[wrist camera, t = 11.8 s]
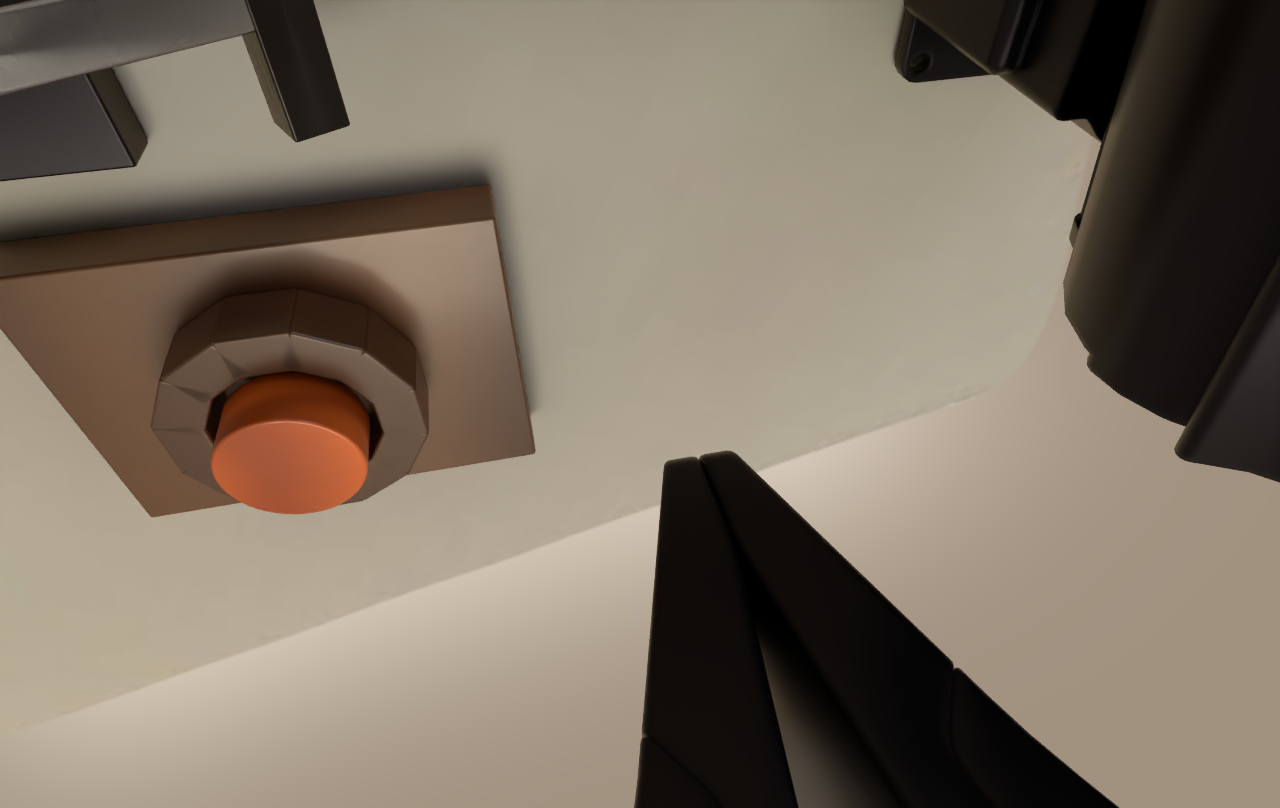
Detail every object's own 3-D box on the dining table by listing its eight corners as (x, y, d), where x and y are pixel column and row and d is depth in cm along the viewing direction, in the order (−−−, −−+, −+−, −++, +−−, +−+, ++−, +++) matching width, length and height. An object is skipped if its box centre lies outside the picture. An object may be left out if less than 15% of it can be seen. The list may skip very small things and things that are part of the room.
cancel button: (348, 360, 19) (344, 409, 18) (384, 453, 22) (383, 501, 21) (198, 382, 19) (183, 434, 17) (253, 475, 21) (243, 525, 20)
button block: (490, 183, 20) (501, 258, 18) (530, 418, 26) (542, 496, 24) (-10, 241, 18) (-73, 333, 16) (163, 477, 25) (136, 567, 22)
